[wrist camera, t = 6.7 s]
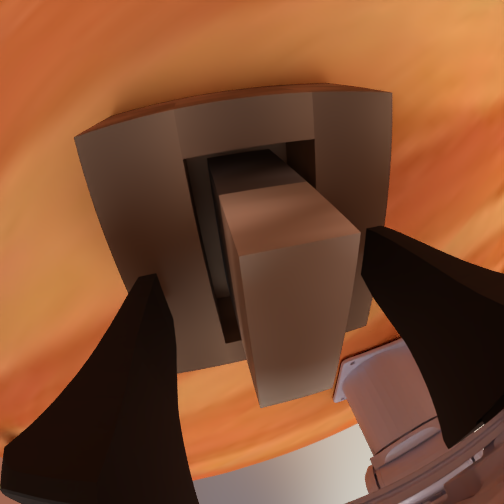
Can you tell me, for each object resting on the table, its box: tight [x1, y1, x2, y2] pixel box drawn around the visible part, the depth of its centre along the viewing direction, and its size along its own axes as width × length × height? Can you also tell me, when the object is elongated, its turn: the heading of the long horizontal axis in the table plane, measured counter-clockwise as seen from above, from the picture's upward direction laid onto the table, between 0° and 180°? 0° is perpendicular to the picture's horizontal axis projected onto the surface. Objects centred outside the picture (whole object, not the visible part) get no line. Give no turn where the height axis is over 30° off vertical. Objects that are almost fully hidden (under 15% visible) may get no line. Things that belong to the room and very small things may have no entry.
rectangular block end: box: [207, 149, 361, 408], centre depth 10 cm, size 2×6×7 cm, turn 5°
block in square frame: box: [74, 83, 392, 373], centre depth 13 cm, size 10×11×5 cm
